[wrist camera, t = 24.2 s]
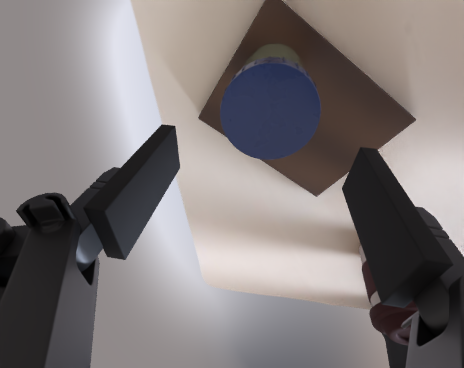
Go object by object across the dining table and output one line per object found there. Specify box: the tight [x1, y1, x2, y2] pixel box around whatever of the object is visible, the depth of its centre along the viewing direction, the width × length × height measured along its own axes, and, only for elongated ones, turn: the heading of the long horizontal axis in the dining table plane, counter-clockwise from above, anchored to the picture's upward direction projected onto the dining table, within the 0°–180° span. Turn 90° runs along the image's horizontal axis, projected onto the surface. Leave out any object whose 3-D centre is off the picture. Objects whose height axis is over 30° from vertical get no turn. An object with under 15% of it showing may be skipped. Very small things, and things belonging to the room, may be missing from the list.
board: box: [198, 0, 416, 197], centre depth 30 cm, size 16×22×1 cm
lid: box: [220, 56, 321, 160], centre depth 18 cm, size 8×8×2 cm
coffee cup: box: [359, 245, 418, 345], centre depth 37 cm, size 10×10×15 cm
